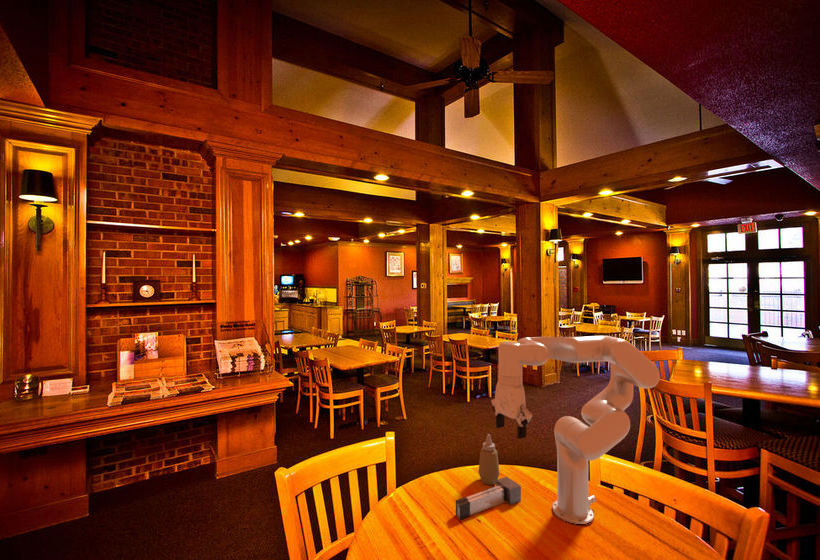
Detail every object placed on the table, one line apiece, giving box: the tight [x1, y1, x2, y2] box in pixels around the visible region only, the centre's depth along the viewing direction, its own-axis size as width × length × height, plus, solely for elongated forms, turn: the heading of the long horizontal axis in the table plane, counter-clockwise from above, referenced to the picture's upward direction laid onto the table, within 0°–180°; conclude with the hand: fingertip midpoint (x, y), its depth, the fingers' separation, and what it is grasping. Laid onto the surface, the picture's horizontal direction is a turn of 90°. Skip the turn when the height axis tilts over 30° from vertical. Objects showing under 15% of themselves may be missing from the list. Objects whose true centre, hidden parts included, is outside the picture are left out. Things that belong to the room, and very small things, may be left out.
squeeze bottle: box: [478, 434, 500, 486], centre depth 144 cm, size 8×8×18 cm
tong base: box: [455, 476, 522, 518], centre depth 128 cm, size 24×7×6 cm, turn 119°
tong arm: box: [457, 488, 505, 521], centre depth 125 cm, size 19×1×5 cm, turn 119°
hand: (510, 432), depth 121 cm, fingers open, 9 cm apart
